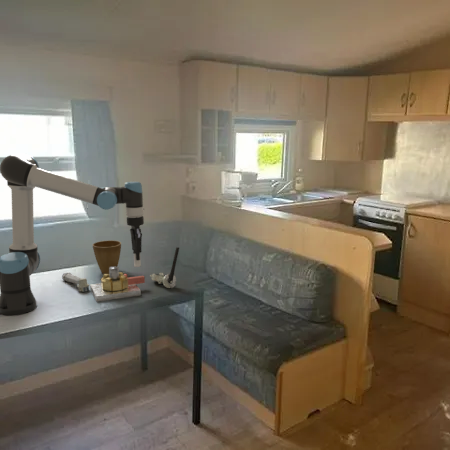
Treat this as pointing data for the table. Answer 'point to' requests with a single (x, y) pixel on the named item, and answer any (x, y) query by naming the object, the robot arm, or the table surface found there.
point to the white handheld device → (76, 281)
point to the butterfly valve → (169, 278)
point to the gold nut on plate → (109, 295)
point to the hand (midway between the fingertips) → (137, 266)
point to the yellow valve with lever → (120, 282)
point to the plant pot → (107, 254)
